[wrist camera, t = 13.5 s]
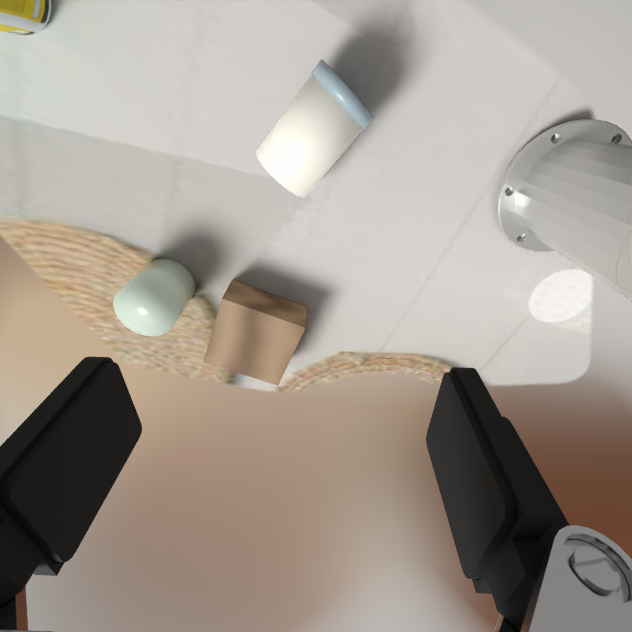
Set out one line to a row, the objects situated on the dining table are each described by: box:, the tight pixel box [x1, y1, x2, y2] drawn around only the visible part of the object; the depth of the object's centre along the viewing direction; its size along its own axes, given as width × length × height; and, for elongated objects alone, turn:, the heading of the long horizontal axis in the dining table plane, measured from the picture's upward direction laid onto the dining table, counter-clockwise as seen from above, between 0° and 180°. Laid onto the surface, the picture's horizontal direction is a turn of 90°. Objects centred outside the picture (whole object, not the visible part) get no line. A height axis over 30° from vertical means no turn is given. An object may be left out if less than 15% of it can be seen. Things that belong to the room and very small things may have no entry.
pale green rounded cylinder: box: [113, 259, 196, 336], centre depth 39 cm, size 6×6×7 cm
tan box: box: [204, 280, 308, 385], centre depth 43 cm, size 10×10×5 cm
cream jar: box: [256, 59, 374, 198], centre depth 30 cm, size 6×6×9 cm
